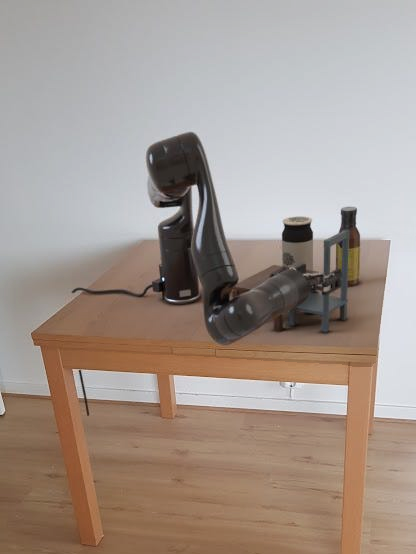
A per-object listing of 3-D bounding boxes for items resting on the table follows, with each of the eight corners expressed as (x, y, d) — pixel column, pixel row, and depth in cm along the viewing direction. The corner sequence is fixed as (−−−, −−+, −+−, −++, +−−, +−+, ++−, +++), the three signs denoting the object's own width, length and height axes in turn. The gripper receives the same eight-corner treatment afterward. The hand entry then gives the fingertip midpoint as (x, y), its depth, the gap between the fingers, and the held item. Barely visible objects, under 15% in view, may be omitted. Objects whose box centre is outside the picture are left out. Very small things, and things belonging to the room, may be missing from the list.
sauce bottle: (343, 277, 187) (345, 203, 177) (363, 281, 184) (366, 205, 174) (330, 284, 183) (332, 209, 173) (351, 288, 179) (354, 211, 169)
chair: (288, 324, 160) (287, 236, 150) (310, 311, 167) (310, 225, 156) (326, 332, 155) (328, 241, 144) (347, 318, 161) (350, 229, 151)
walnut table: (234, 321, 165) (232, 286, 160) (274, 298, 177) (273, 264, 172) (279, 331, 158) (278, 294, 153) (318, 306, 170) (318, 271, 165)
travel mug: (302, 280, 187) (302, 214, 178) (318, 288, 181) (319, 220, 172) (277, 286, 185) (275, 219, 176) (292, 294, 178) (292, 225, 169)
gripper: (313, 280, 130) (352, 257, 141) (251, 270, 138) (293, 249, 148) (312, 317, 134) (351, 292, 144) (252, 305, 141) (293, 282, 152)
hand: (321, 270), depth 146 cm, fingers open, 8 cm apart
